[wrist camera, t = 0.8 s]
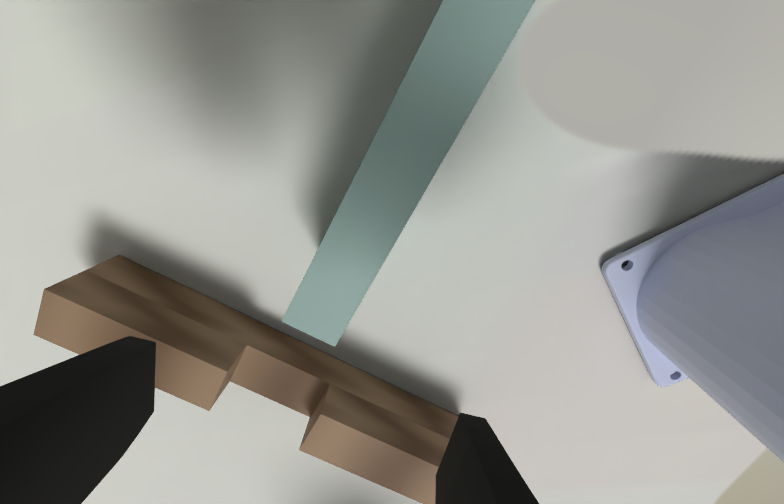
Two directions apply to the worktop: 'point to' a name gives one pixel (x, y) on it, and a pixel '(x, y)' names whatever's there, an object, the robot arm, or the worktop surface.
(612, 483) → the worktop surface
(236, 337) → the slotted board
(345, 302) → the slotted plate
